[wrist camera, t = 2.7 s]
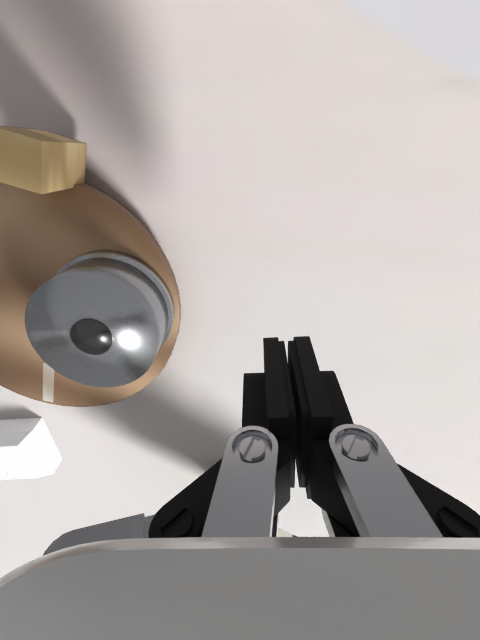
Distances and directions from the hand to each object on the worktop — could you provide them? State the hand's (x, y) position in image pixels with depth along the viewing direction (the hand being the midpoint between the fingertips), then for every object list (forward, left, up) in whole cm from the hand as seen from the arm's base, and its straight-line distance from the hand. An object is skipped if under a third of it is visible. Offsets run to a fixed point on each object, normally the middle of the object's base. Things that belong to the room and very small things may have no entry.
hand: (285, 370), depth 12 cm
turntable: (-13, +1, -8) cm, 15 cm away
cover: (-9, 0, -7) cm, 12 cm away
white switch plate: (-23, -13, -10) cm, 28 cm away
